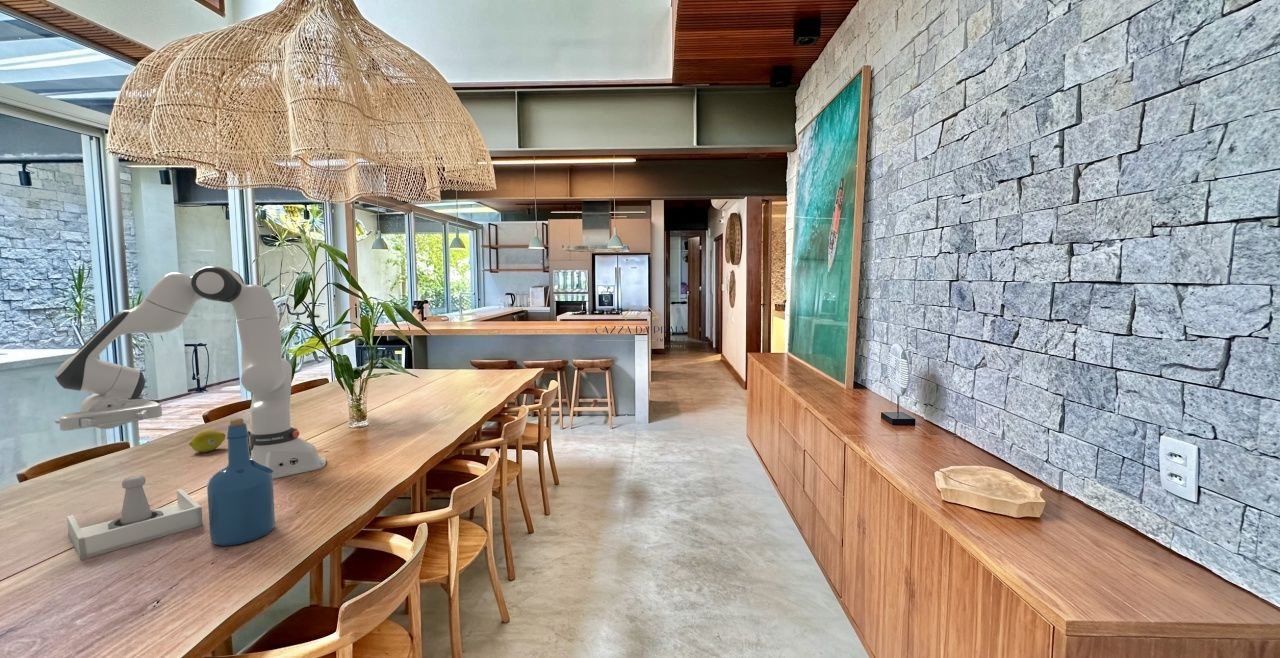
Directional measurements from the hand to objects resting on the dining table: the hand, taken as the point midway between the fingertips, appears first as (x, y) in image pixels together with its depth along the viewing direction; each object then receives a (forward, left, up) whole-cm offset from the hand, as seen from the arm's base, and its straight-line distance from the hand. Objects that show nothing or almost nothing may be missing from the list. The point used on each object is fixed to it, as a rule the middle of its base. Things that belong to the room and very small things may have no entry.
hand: (117, 420), depth 140 cm
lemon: (-11, -58, -27) cm, 65 cm away
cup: (-25, -46, -27) cm, 59 cm away
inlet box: (-5, +16, -26) cm, 31 cm away
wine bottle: (-29, +34, -27) cm, 52 cm away
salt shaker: (-5, +16, -26) cm, 31 cm away
